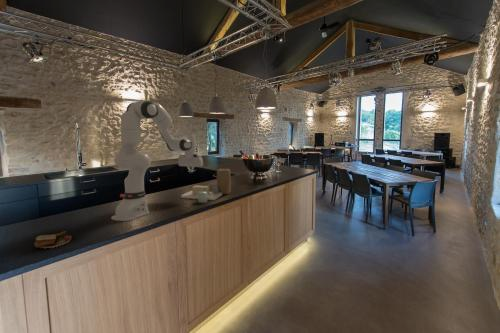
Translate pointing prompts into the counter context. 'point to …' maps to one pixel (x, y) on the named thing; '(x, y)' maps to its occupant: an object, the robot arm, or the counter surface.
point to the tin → (215, 190)
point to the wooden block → (224, 180)
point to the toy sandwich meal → (51, 240)
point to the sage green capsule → (202, 196)
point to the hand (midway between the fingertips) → (190, 172)
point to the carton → (199, 189)
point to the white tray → (193, 196)
